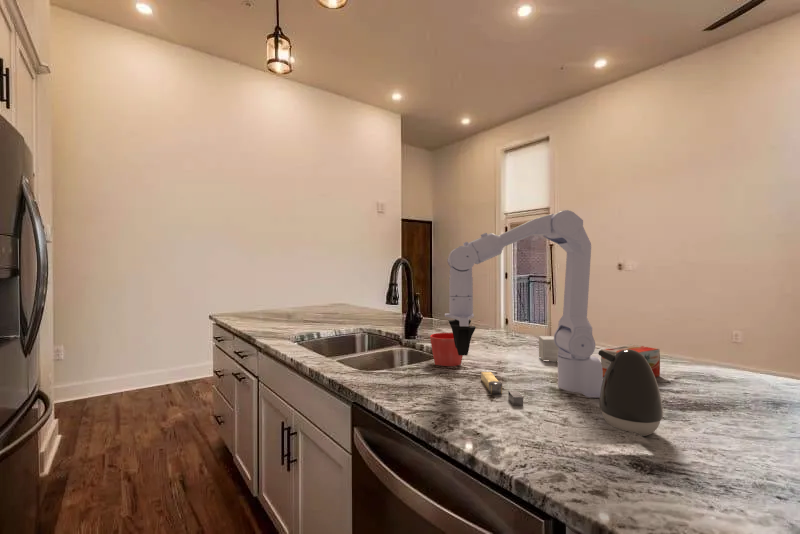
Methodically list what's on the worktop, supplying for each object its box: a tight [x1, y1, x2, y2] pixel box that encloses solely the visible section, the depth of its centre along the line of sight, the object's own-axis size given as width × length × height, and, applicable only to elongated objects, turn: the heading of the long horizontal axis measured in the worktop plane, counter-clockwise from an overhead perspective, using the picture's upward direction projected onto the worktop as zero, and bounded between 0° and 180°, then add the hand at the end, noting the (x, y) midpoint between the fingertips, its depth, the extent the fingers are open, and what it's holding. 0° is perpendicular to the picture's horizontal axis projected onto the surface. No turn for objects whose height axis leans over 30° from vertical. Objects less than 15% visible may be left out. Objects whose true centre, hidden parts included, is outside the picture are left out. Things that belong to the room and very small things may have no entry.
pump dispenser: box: [598, 349, 664, 437], centre depth 71 cm, size 10×10×15 cm
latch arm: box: [480, 371, 503, 396], centre depth 92 cm, size 12×3×2 cm, turn 179°
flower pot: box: [429, 332, 464, 367], centre depth 116 cm, size 11×11×10 cm
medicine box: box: [600, 343, 661, 378], centre depth 105 cm, size 15×8×8 cm, turn 119°
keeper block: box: [507, 390, 524, 407], centre depth 81 cm, size 2×4×2 cm, turn 179°
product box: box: [538, 335, 559, 361], centre depth 125 cm, size 6×6×7 cm
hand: (461, 351), depth 92 cm, fingers open, 7 cm apart
